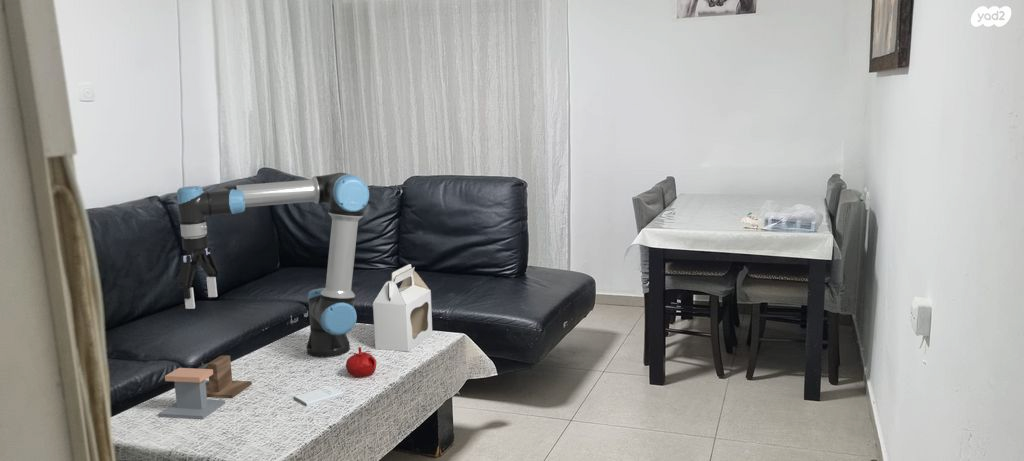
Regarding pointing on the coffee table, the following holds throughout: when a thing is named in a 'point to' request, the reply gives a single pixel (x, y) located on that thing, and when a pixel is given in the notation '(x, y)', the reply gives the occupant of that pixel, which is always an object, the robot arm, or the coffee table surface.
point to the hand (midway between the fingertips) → (202, 302)
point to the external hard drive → (318, 396)
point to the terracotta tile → (189, 375)
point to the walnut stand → (223, 380)
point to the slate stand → (191, 402)
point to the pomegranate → (361, 364)
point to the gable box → (402, 312)
